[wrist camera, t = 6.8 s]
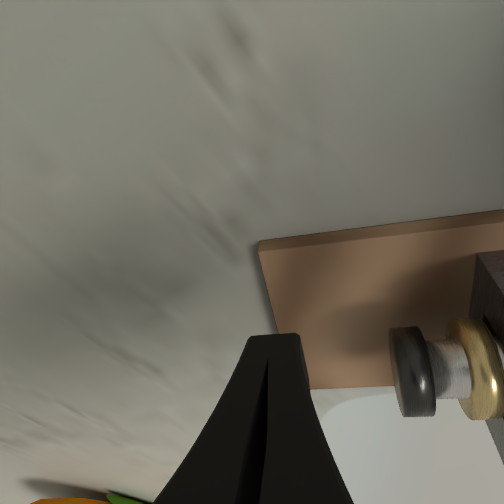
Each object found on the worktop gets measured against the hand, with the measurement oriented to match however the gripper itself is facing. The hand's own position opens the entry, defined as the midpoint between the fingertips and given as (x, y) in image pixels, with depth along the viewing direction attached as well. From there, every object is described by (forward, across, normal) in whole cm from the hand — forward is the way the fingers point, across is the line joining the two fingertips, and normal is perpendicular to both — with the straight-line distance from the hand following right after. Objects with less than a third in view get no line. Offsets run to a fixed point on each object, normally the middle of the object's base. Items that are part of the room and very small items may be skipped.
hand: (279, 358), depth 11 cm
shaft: (+7, -10, +7) cm, 14 cm away
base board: (+9, -6, +8) cm, 14 cm away
